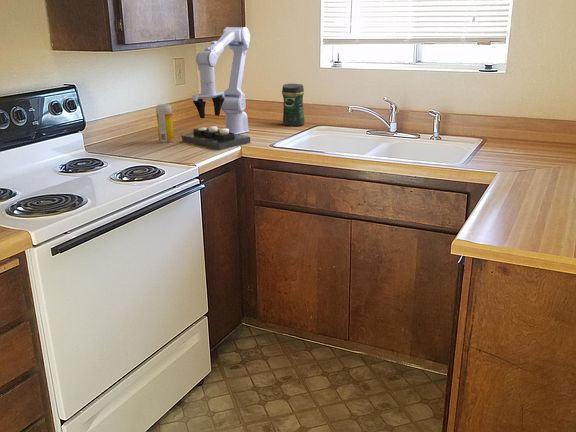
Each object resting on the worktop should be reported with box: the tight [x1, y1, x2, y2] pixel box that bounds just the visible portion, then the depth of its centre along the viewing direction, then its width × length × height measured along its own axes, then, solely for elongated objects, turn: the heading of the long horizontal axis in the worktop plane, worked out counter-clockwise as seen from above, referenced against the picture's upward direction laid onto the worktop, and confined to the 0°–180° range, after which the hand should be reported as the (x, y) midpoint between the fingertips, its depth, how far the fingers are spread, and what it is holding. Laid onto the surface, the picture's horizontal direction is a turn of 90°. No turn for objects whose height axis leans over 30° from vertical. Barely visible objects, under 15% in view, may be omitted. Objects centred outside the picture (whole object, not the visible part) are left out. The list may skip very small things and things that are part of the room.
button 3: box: [219, 127, 229, 135], centre depth 230 cm, size 4×4×2 cm
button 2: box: [207, 125, 219, 133], centre depth 234 cm, size 4×4×2 cm
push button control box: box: [181, 127, 251, 151], centre depth 237 cm, size 16×26×5 cm, turn 46°
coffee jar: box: [281, 83, 305, 127], centre depth 265 cm, size 10×8×19 cm
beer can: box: [155, 103, 175, 144], centre depth 237 cm, size 6×6×15 cm
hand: (209, 116), depth 235 cm, fingers open, 7 cm apart
